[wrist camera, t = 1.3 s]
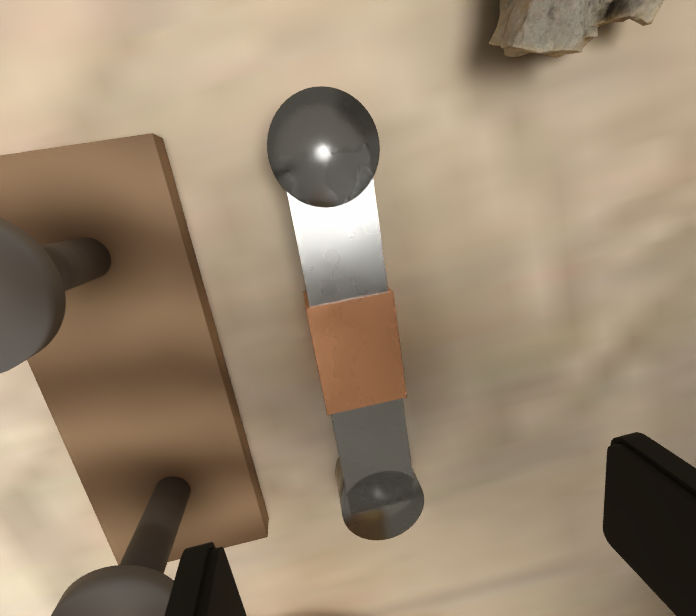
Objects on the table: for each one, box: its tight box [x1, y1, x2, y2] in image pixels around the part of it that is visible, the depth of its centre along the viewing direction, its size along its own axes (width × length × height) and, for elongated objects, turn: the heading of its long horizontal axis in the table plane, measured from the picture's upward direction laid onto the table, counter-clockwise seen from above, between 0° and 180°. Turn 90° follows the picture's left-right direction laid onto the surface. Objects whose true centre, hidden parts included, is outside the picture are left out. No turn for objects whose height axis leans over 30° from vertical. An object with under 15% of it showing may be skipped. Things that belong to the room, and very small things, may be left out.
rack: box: [0, 134, 269, 616], centre depth 17 cm, size 24×9×10 cm, turn 9°
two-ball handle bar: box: [267, 87, 424, 540], centre depth 21 cm, size 25×5×4 cm, turn 9°
